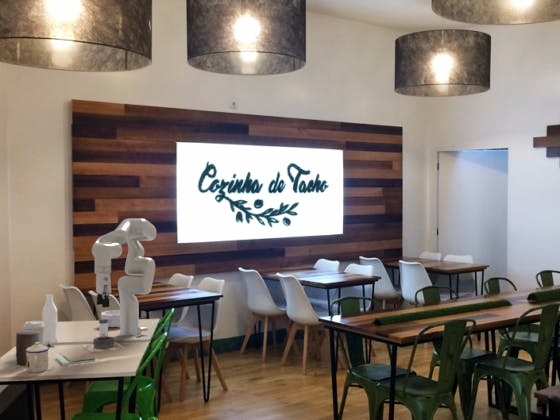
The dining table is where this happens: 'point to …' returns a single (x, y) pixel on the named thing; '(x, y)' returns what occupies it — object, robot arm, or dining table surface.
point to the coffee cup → (36, 328)
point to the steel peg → (103, 329)
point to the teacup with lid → (37, 358)
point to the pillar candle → (25, 344)
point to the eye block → (103, 345)
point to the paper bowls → (112, 317)
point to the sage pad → (65, 361)
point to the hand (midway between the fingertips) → (102, 305)
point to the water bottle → (49, 321)
